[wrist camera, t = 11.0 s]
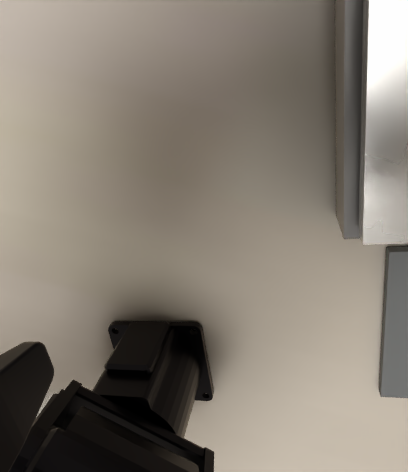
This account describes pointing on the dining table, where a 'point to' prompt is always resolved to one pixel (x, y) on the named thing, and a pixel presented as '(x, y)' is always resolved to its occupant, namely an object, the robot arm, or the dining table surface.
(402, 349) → the rubber mat
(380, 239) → the pan
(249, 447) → the dining table surface
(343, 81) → the base
